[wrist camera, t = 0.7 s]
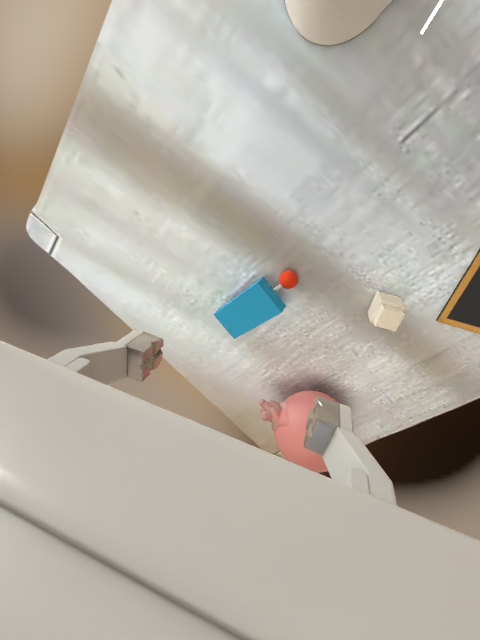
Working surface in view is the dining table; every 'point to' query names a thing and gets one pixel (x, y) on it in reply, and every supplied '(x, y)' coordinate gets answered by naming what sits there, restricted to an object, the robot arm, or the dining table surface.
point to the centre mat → (465, 301)
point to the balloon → (294, 427)
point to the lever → (254, 305)
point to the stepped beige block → (386, 311)
